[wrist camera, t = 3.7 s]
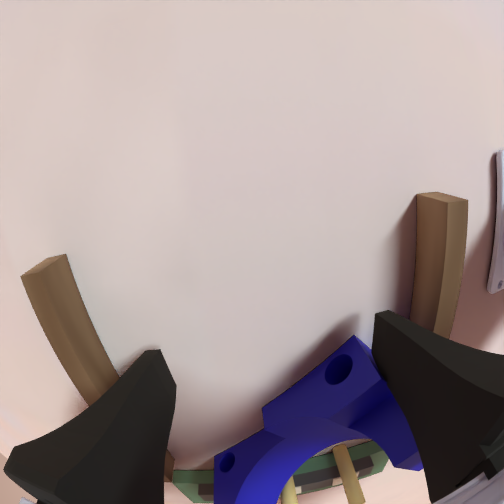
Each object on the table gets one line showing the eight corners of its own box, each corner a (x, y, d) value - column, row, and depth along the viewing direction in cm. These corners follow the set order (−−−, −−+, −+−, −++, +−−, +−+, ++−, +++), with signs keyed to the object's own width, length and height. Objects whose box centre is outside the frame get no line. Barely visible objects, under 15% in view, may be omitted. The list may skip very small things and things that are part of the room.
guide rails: (437, 191, 10) (467, 200, 8) (399, 418, 14) (410, 438, 13) (46, 258, 9) (20, 276, 8) (158, 458, 14) (155, 481, 12)
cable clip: (354, 334, 11) (414, 437, 6) (396, 371, 13) (446, 450, 7) (195, 448, 14) (190, 529, 8) (248, 467, 15) (254, 538, 9)
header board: (392, 427, 15) (417, 478, 10) (377, 461, 17) (395, 503, 12) (168, 464, 15) (161, 521, 10) (194, 492, 17) (192, 537, 12)
